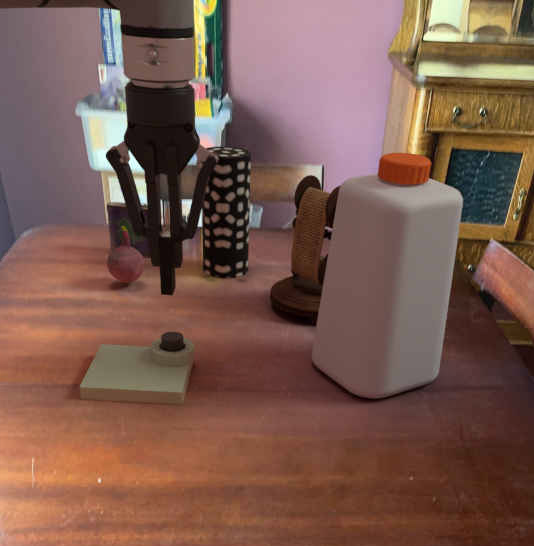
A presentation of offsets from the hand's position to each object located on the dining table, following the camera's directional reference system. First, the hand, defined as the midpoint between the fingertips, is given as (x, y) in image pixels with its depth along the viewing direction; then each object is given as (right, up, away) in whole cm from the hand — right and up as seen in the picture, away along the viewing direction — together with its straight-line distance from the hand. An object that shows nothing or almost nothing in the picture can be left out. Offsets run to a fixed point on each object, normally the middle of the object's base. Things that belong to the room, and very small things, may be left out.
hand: (168, 290), depth 87 cm
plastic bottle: (+28, -9, +9) cm, 30 cm away
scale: (-4, -11, +4) cm, 12 cm away
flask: (-13, +18, +42) cm, 48 cm away
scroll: (+21, +4, +25) cm, 33 cm away
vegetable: (-11, +9, +29) cm, 33 cm away
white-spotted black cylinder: (+5, +14, +37) cm, 40 cm away
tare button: (0, -7, +5) cm, 8 cm away
